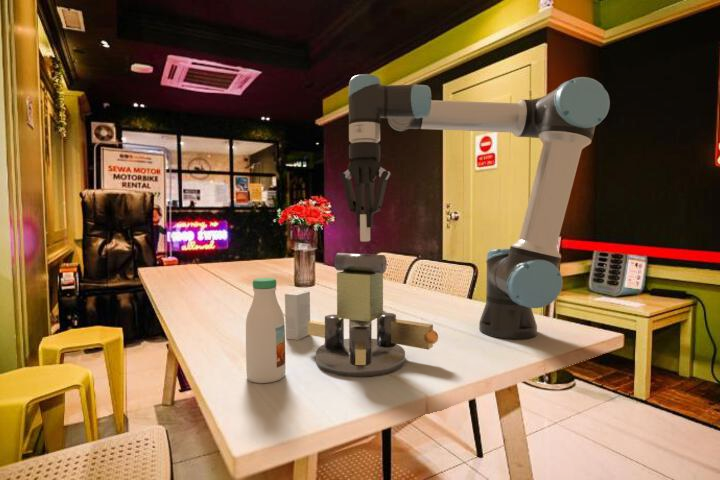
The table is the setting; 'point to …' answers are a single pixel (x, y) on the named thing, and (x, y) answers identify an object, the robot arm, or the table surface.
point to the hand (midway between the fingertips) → (365, 240)
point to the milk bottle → (265, 334)
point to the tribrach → (356, 321)
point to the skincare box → (297, 314)
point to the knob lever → (404, 333)
